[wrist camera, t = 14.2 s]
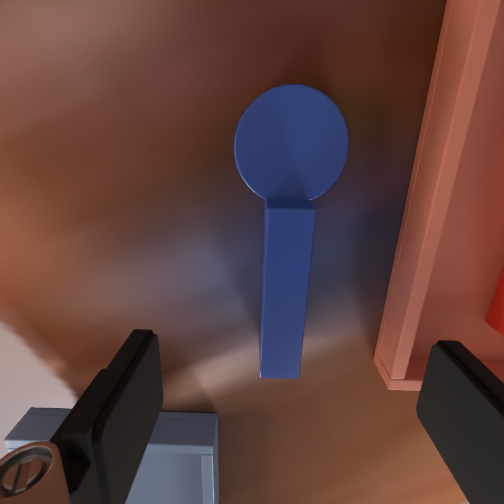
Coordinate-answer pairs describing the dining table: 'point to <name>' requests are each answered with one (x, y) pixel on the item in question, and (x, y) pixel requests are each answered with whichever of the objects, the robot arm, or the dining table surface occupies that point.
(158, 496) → the blue tray
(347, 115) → the dining table surface
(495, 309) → the red spoon
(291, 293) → the blue spoon
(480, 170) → the rose tray
